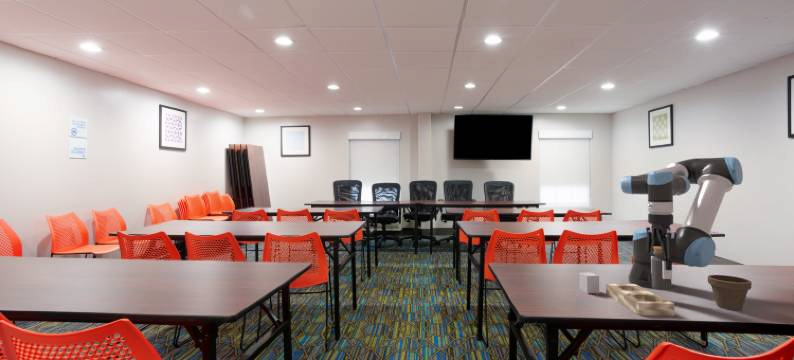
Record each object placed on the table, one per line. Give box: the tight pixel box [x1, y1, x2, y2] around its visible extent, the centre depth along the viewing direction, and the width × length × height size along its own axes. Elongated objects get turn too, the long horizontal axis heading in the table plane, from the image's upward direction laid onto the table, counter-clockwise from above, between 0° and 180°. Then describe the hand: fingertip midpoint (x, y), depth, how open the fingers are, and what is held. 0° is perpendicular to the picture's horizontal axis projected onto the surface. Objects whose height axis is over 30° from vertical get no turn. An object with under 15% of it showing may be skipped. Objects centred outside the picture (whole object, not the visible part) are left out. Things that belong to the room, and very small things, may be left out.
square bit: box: [579, 271, 600, 294], centre depth 147 cm, size 5×5×7 cm
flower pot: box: [707, 274, 752, 311], centre depth 129 cm, size 12×11×10 cm
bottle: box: [652, 246, 672, 291], centre depth 136 cm, size 6×6×15 cm
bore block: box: [605, 283, 675, 317], centre depth 133 cm, size 11×22×4 cm, turn 176°
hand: (661, 275), depth 136 cm, fingers closed on bottle, 6 cm apart
